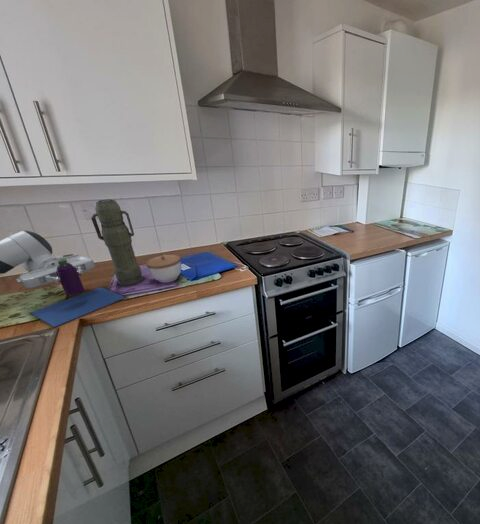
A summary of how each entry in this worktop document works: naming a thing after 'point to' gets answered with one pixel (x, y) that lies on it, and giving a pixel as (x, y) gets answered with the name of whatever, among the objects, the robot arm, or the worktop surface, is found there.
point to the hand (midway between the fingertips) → (69, 276)
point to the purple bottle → (69, 278)
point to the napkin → (77, 306)
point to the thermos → (118, 241)
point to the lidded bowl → (164, 268)
